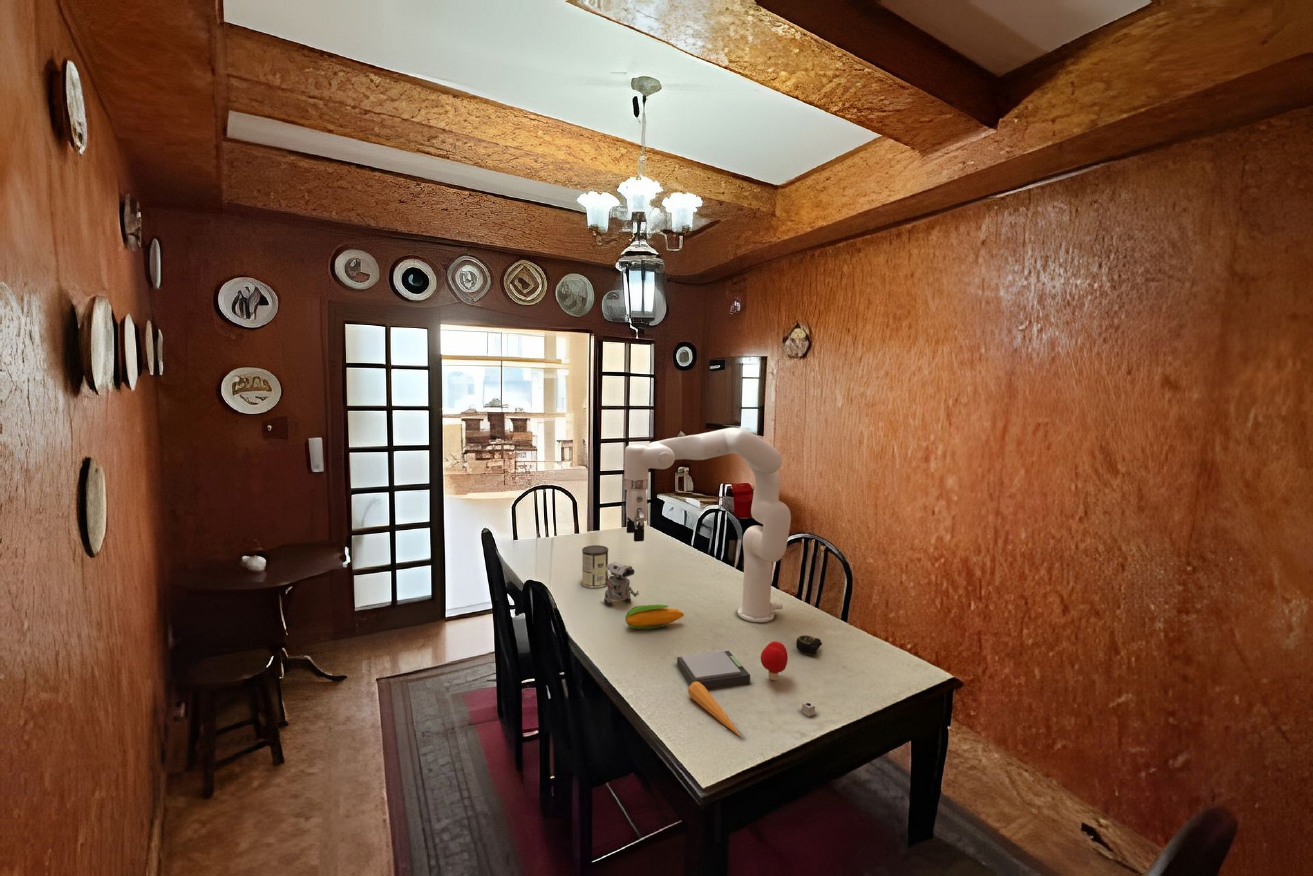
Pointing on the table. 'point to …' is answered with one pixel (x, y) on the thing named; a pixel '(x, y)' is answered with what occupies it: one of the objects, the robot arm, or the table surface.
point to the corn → (651, 616)
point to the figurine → (618, 583)
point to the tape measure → (808, 644)
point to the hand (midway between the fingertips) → (635, 536)
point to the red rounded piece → (774, 659)
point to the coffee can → (594, 566)
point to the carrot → (709, 704)
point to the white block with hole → (808, 709)
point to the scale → (713, 669)
